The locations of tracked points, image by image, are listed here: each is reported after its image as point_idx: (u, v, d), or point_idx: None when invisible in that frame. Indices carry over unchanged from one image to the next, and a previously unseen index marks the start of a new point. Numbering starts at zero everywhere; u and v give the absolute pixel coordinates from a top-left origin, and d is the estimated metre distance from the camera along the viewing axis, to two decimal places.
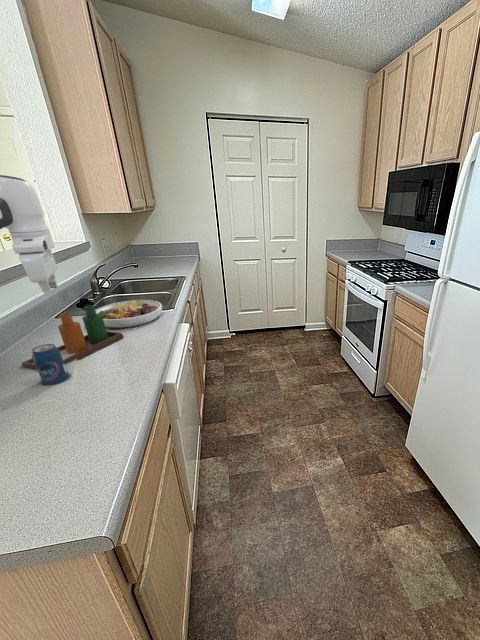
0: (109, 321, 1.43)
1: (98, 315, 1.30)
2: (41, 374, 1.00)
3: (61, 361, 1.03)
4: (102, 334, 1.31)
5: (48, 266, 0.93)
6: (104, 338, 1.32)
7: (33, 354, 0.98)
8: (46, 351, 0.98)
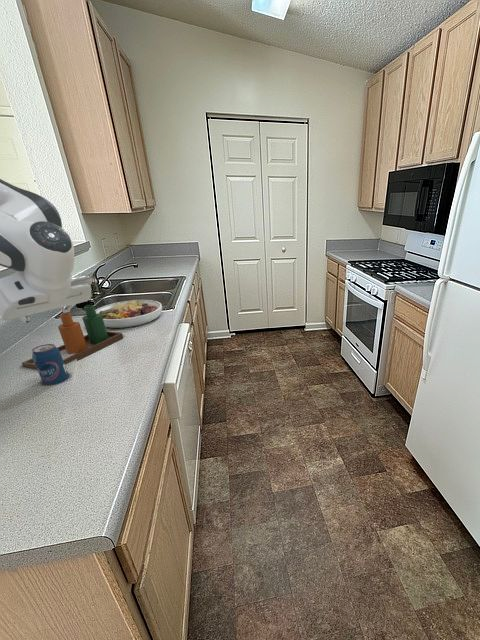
0: (109, 321, 1.43)
1: (98, 315, 1.30)
2: (41, 374, 1.00)
3: (61, 361, 1.03)
4: (102, 334, 1.31)
5: (40, 307, 0.81)
6: (104, 338, 1.32)
7: (33, 354, 0.98)
8: (46, 351, 0.98)
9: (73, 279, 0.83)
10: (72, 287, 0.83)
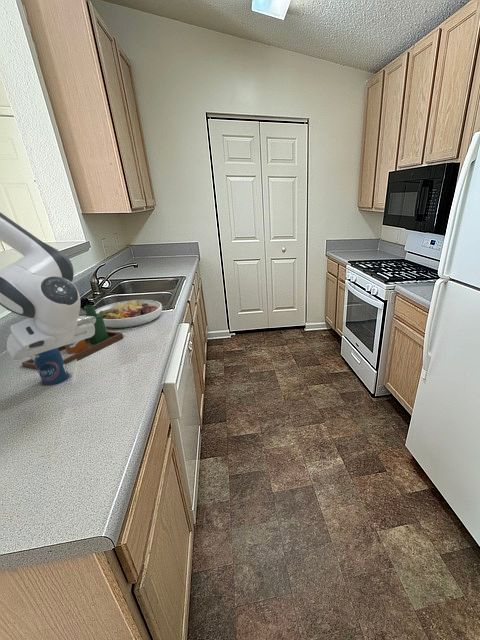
0: (109, 321, 1.43)
1: (98, 315, 1.30)
2: (41, 374, 1.00)
3: (61, 361, 1.03)
4: (102, 334, 1.31)
5: (48, 346, 0.89)
6: (104, 338, 1.32)
7: None
8: (46, 351, 0.98)
9: (78, 320, 0.90)
10: (77, 327, 0.91)
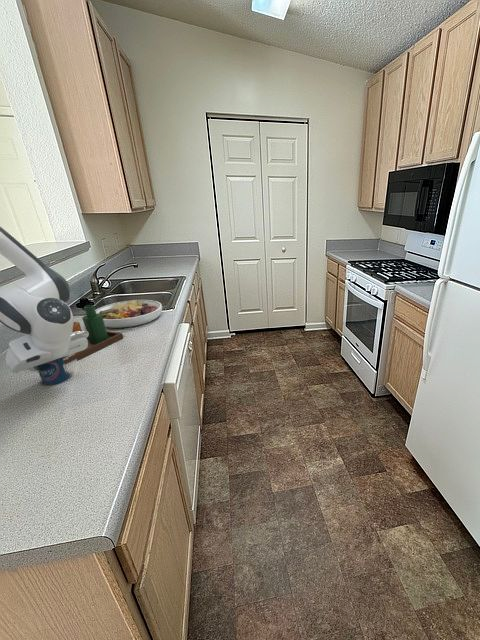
0: (109, 321, 1.43)
1: (98, 315, 1.30)
2: (41, 374, 1.00)
3: (61, 361, 1.03)
4: (102, 334, 1.31)
5: (44, 359, 0.96)
6: (104, 338, 1.32)
7: None
8: None
9: (72, 335, 0.97)
10: (71, 342, 0.98)
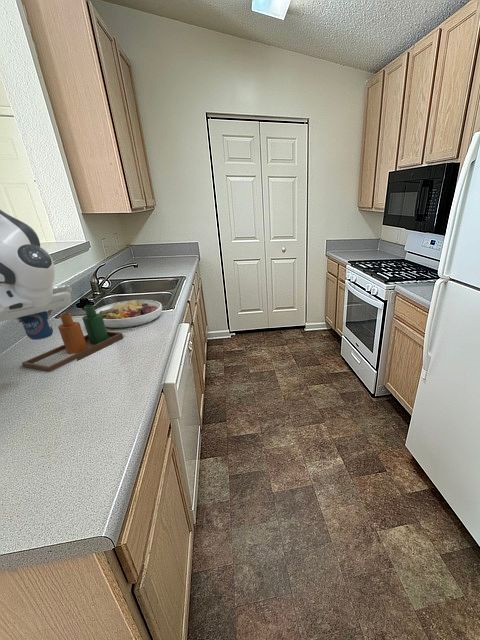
0: (109, 321, 1.43)
1: (98, 315, 1.30)
2: (25, 327, 1.04)
3: (45, 315, 1.06)
4: (102, 334, 1.31)
5: (27, 310, 0.99)
6: (104, 338, 1.32)
7: None
8: None
9: (55, 288, 1.01)
10: (54, 294, 1.01)
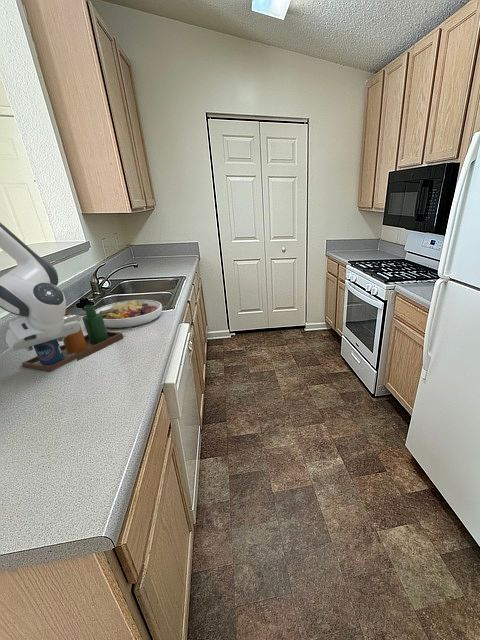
0: (109, 321, 1.43)
1: (98, 315, 1.30)
2: (38, 354, 1.12)
3: (56, 343, 1.14)
4: (102, 334, 1.31)
5: (40, 339, 1.07)
6: (104, 338, 1.32)
7: None
8: None
9: (65, 318, 1.08)
10: (65, 324, 1.09)
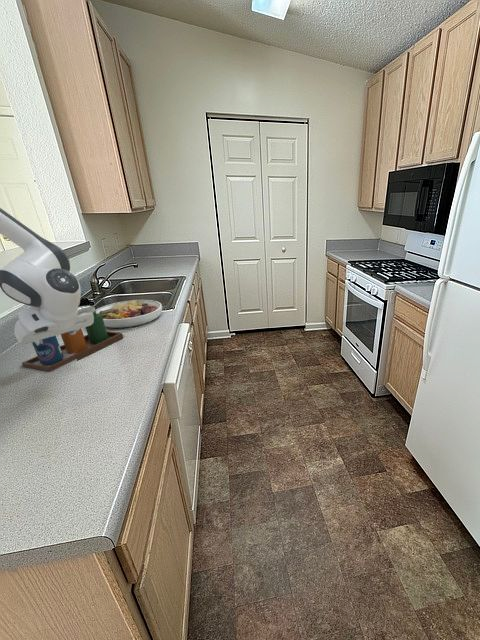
0: (109, 321, 1.43)
1: (98, 315, 1.30)
2: (38, 354, 1.12)
3: (56, 343, 1.14)
4: (102, 334, 1.31)
5: (51, 332, 0.98)
6: (104, 338, 1.32)
7: None
8: None
9: (79, 309, 0.99)
10: (78, 316, 1.00)
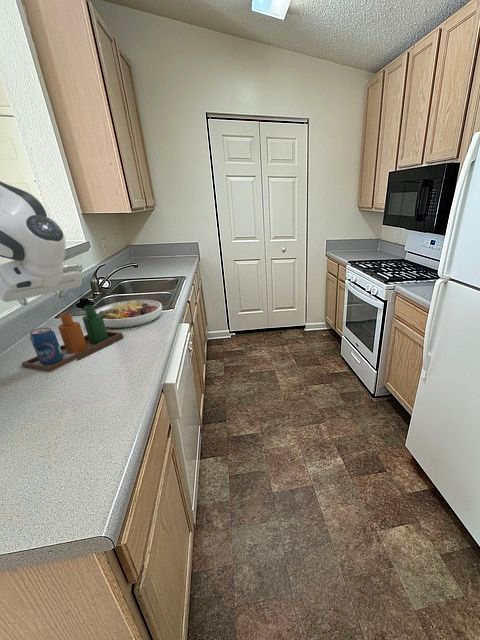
0: (109, 321, 1.43)
1: (98, 315, 1.30)
2: (38, 354, 1.12)
3: (56, 343, 1.14)
4: (102, 334, 1.31)
5: (36, 290, 0.92)
6: (104, 338, 1.32)
7: (31, 336, 1.09)
8: (43, 333, 1.10)
9: (65, 267, 0.94)
10: (64, 274, 0.94)
